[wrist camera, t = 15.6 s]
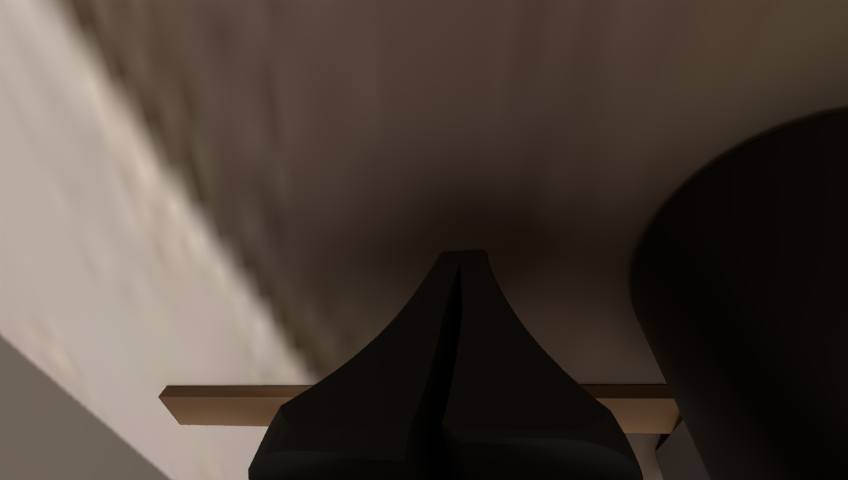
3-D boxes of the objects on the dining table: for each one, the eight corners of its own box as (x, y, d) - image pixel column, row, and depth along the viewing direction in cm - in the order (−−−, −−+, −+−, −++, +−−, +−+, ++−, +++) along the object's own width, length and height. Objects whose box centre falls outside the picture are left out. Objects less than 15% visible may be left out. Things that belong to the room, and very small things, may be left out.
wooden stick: (829, 422, 16) (841, 436, 15) (187, 413, 21) (180, 424, 20) (851, 384, 14) (864, 399, 14) (166, 386, 20) (158, 397, 19)
